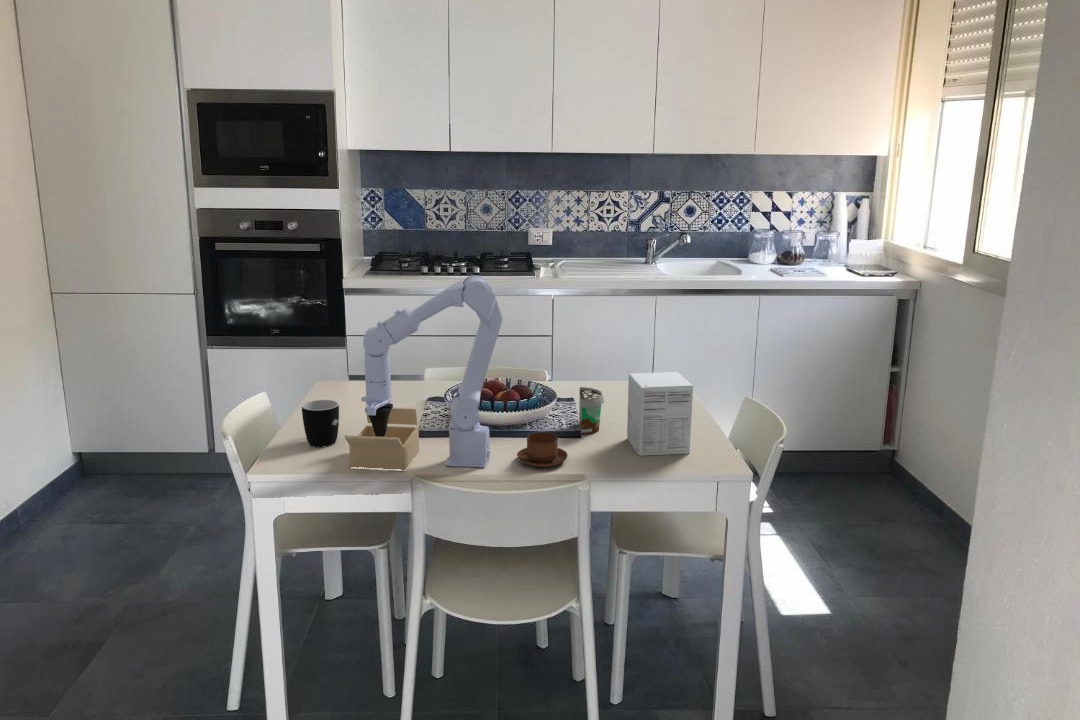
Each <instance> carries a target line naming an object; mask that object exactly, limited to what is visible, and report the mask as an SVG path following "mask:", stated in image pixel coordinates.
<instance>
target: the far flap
mask: <svg viewBox="0 0 1080 720" xmlns="http://www.w3.org/2000/svg"><path fill="white" fill-rule="evenodd" d="M366 407H367V405H366ZM366 407H365V408H366ZM417 412H418V411H417V408H416V407H394V406H393V408H392V410H391V412H390V415H389V419H388V424H387V425H407V426H409V425H410V426H414V425H415V426H418V424H419V422H418V413H417ZM366 419H367V424H372V423H371V421H370V418H369V417H368V415H366Z"/></svg>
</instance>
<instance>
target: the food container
mask: <svg viewBox="0 0 1080 720" xmlns="http://www.w3.org/2000/svg"><path fill="white" fill-rule="evenodd" d="M578 394H579V405H578V406H579V410H578V411H579V413H578V414H579V417H578V423H579V424H578V425H579V430H580V429H581V432H580V436H589V435H590V436H591V435H594V434H597V433H598V432H599V430H600V425H601V424H600V423H601V421H600V420H601V413H602V405H603V404H604V403H605V398H604V395H603V392H602V391H600V390H598V389H597V388H596V389H595V388H592V387H586V386H585V387H584V386H583V387H582V386H581V387H580V386H579V393H578Z"/></svg>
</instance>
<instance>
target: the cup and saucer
mask: <svg viewBox="0 0 1080 720" xmlns="http://www.w3.org/2000/svg"><path fill="white" fill-rule="evenodd" d="M558 445H559V437H558V435H556V434H553V433H551V432H550V433H549V432H535V433H530V434H528V436H527V437H526V447H524V448H522V449H521V450H519V451H517V454H516V456H517V459H518V461H520V462H521V463H523V464H524V465H526V466H530V467H535V468H549V467H550V468H551V467H556V466H559V465H561V464H563V463H564V462H565V461H566V460H567V459H568V453H567V451H565V450H564V449H562V448H559V447H558Z"/></svg>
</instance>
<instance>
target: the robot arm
mask: <svg viewBox="0 0 1080 720" xmlns="http://www.w3.org/2000/svg"><path fill="white" fill-rule="evenodd" d="M464 303H465V304H466V305H467V306H468V307H469V308H470V309H471V310H472V311H474V312H475V314H476V315H477V317H478V319H479V320H480V322H479V324H478V326H477V327H478V328H477V331H476V333H475V337H474V341H473V344H472V348H471V351H470V355H469V359H468V361H467V365H466V368H465V371H464V374H463V378H462V381H461V384H460V385H459V386H458V389H457V392H456V394H455V395H454V396H453V397H452V399H451V400H450V402H449V411H450V412H451V421H450V422H449V423H448V434H449V435H448V436H449V440H448V443H449V444H448V446H449V457H448V459H447V460H446V462H445V463H444V464H445V466H447V467H463V468H464V467H466V468H486V466H487V463H488V462H489V459H490V457H491V454H490V453H491V450H490V449H491V448H490V445H491V444H490V427H489V426H487V425H486V426H485V425H481V424H480V421H479V420H480V419H479V417H480V415H479V414H480V413H479V405H480V402H481V401H480V400H481V393H482V388H483V387H484V382H485V378H486V374H487V372H488V369H489V365H490V362H491V359H492V355H493V353H494V349H495V346H496V342H497V339H498V335H499V333H500V329H501V326H502V322H503V315H502V313H501V310H500V307H499V303H498V300H497V297H496V294H495V293H494V291H493V289H492V288H491V286H490V285H489V283H488V282H487V281H486V280H485V278H483V276H480V275H469V276H467V277H465V278H464V280H460V281H456V282H455V283H454V284H452V285H450V286H448V287H447V288H445V289H444V290H442V291H440V292H438V294H436V295H434V296H433V297H431V298H429V300H427V301H425V302H423V304H421V305H418V307H416V308H415V309H407V308H403V310H400V309H397V310H395V311H394V315H392V316H391V317H389V318H387V319H386V320H384V321H382V322H381V321H379V322H377V323H376V326H372V327H369V328H368V329H367V330H366V331H365V333H364V335H363V342H362V345H363V348H364V350H365V351H364V358H365V359H364V376H365V377H364V380H365V395H364V396H362V397H361V399H360V400H361V401H360V402H365V405H366V406H367V407H365V408H364V411H365V415H366V416H367V415H368V417H369V418H370V421H371V423H370V424H371V426H373V430H374V433H375V436H378V437H384V436H385V434H386V430H387V426H388V425H389V424H388V419H389V415H390V412H391V410H392V408H393V407H394V404H393V403H392V402H393V396H392V382H391V377H392V375H391V359H390V358H389V349H390V347H391V346H392V345H396V344H398V343H400V342H401V341H404V339H406V338H408V337H409V336H411V335H413V334H415V333H416V332H418V331H419V328H420V324H421V323H422V322H424V321H427V320H428V319H430V318H432V317H433V316H435V315H437V314H439V313H440V312H442V311H444V310H445V309H448V308H449V307H456V308H464Z"/></svg>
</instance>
